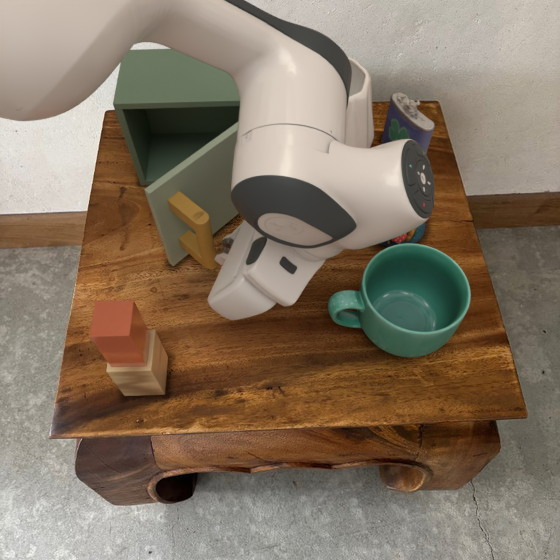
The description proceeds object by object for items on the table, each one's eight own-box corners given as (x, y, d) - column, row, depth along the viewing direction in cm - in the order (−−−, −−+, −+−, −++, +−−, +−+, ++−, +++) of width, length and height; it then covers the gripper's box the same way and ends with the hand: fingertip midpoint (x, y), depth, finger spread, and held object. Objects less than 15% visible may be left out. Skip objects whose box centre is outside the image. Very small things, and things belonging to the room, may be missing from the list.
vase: (376, 132, 90) (391, 52, 77) (361, 197, 83) (375, 120, 70) (293, 118, 92) (293, 37, 79) (271, 180, 85) (268, 103, 72)
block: (111, 367, 61) (88, 336, 54) (115, 334, 63) (94, 301, 56) (147, 366, 61) (129, 335, 54) (150, 333, 63) (133, 299, 56)
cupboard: (269, 182, 85) (266, 99, 71) (140, 185, 85) (112, 103, 71) (268, 131, 91) (265, 45, 77) (147, 134, 90) (122, 49, 77)
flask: (425, 169, 86) (441, 116, 77) (410, 176, 85) (425, 123, 76) (390, 133, 90) (401, 78, 81) (375, 139, 89) (385, 85, 80)
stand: (124, 396, 67) (105, 371, 60) (129, 358, 70) (111, 330, 63) (165, 394, 67) (151, 370, 61) (168, 357, 70) (155, 329, 63)
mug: (441, 280, 75) (459, 240, 67) (459, 365, 69) (482, 332, 61) (320, 284, 75) (324, 245, 67) (328, 370, 69) (333, 338, 61)
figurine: (429, 256, 77) (444, 220, 70) (362, 255, 78) (370, 218, 70) (421, 191, 84) (433, 151, 76) (359, 189, 84) (366, 150, 77)
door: (301, 207, 82) (303, 128, 69) (201, 292, 75) (183, 222, 61) (267, 183, 85) (263, 102, 71) (168, 262, 77) (143, 189, 64)
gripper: (307, 137, 62) (235, 176, 73) (244, 284, 53) (170, 305, 63) (342, 173, 65) (267, 205, 76) (288, 318, 56) (211, 333, 66)
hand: (223, 251), depth 69 cm, fingers closed
